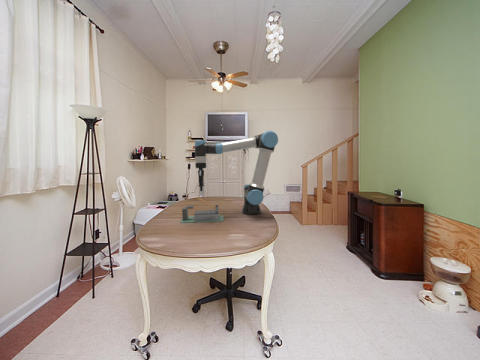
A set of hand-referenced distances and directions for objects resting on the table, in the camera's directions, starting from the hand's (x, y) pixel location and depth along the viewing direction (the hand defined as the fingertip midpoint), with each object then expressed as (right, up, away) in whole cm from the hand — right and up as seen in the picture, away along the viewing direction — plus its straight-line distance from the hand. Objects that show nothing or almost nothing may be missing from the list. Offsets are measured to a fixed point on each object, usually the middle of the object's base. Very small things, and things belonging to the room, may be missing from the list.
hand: (201, 195), depth 151 cm
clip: (-10, -17, +1) cm, 20 cm away
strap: (+4, -7, +1) cm, 8 cm away
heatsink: (+3, -18, +3) cm, 18 cm away
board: (0, -18, +2) cm, 18 cm away
